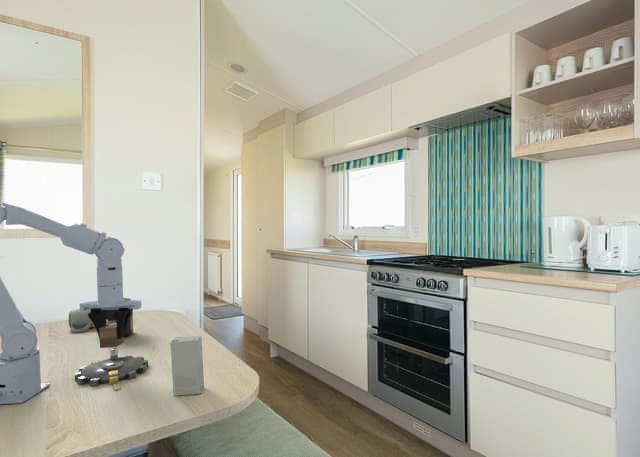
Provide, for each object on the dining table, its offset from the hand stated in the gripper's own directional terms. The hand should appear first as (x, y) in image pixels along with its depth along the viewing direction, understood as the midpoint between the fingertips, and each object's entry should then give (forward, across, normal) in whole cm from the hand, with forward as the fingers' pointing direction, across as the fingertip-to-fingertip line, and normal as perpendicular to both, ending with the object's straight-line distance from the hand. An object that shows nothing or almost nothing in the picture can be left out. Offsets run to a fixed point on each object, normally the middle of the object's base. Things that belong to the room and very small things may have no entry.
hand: (111, 337), depth 100 cm
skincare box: (+9, -23, +13) cm, 28 cm away
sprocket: (+9, 0, 0) cm, 9 cm away
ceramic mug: (+9, +32, -43) cm, 54 cm away
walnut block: (+2, 0, 0) cm, 2 cm away
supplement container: (+9, +15, -33) cm, 37 cm away
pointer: (+9, -5, +9) cm, 14 cm away
